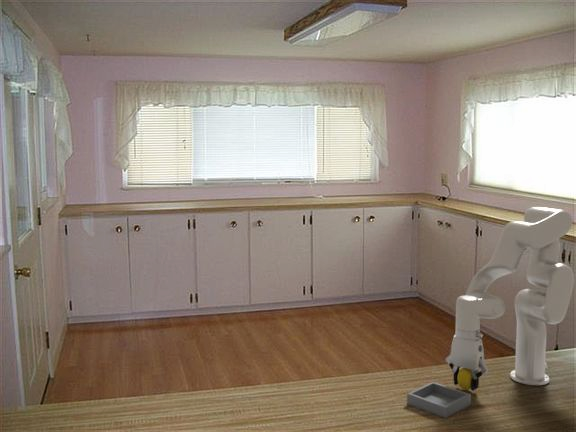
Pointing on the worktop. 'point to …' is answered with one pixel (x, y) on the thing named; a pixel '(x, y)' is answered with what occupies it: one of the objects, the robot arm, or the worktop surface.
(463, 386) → the lemon
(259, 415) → the worktop surface
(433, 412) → the box
